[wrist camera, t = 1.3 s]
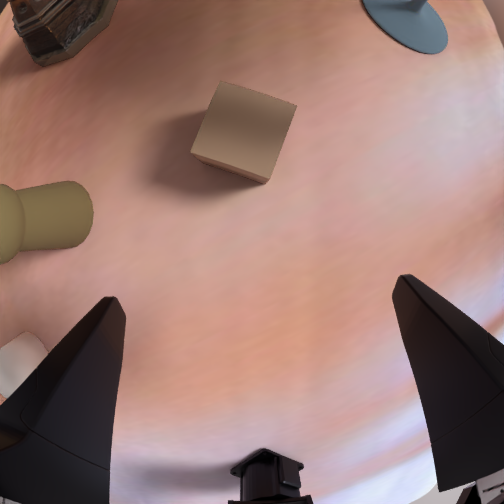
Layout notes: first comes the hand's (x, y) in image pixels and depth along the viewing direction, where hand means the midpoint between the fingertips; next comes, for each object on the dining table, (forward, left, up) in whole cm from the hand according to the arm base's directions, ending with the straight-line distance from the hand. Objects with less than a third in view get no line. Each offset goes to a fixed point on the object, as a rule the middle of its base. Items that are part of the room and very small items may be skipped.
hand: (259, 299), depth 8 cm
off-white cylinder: (-26, +11, -14) cm, 31 cm away
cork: (-9, +14, -14) cm, 22 cm away
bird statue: (+8, +29, -14) cm, 33 cm away
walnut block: (+5, +5, -14) cm, 16 cm away
